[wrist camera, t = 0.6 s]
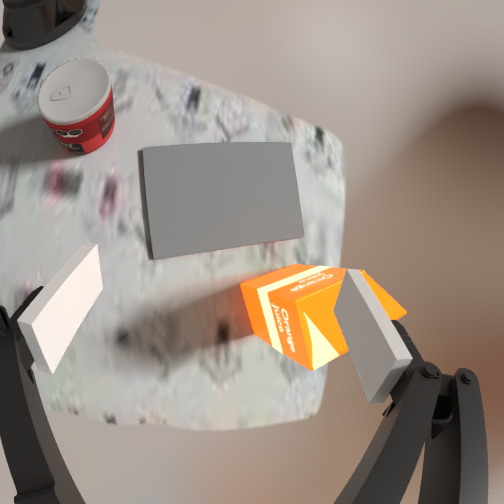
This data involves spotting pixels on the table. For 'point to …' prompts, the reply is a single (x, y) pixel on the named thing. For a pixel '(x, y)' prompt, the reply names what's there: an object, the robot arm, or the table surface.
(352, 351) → the robot arm
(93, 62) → the canned food
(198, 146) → the mat
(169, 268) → the table surface
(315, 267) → the orange juice
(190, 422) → the table surface
